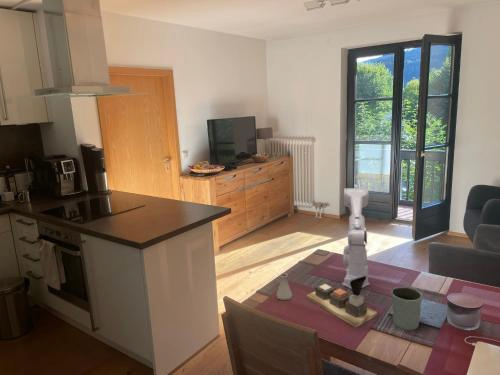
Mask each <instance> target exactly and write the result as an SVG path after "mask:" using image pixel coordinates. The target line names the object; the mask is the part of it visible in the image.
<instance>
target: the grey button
mask: <svg viewBox="0 0 500 375" xmlns="http://www.w3.org/2000/svg"><path fill="white" fill-rule="evenodd" d="M363 302H364V296H363V295H361V294H360V295H359V296H356V295H353V294H351V296H349V303H350V304H351V305H353V306H355V307H358V306H360V305H362V304H363Z"/></svg>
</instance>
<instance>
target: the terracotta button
mask: <svg viewBox="0 0 500 375" xmlns="http://www.w3.org/2000/svg"><path fill="white" fill-rule="evenodd" d="M347 294H348V293H347V291H346V290H344V289H342V288H338V289H337V288H336V289H335V291H333V295H334V296H335V297H337V298H339V299H342V298H344V297H346V296H347Z"/></svg>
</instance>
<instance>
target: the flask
mask: <svg viewBox="0 0 500 375" xmlns="http://www.w3.org/2000/svg"><path fill="white" fill-rule="evenodd" d="M288 277H289V276H288V273H285V272H283V273H282V272H281V273H280V283H279V286H278V289H277V291H276V295H275V296H276V299H277V300H281V301H290V300H292V298H294V296H293V293H292V291H291V288H290V285H289V283H288Z"/></svg>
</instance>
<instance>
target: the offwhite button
mask: <svg viewBox="0 0 500 375" xmlns="http://www.w3.org/2000/svg"><path fill="white" fill-rule="evenodd" d="M319 288H320V289H322V290H324V291H327V290H329V289H331V288H332V287H330V286H328V285H326V284H325V283H324V285H322V286H319Z"/></svg>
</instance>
